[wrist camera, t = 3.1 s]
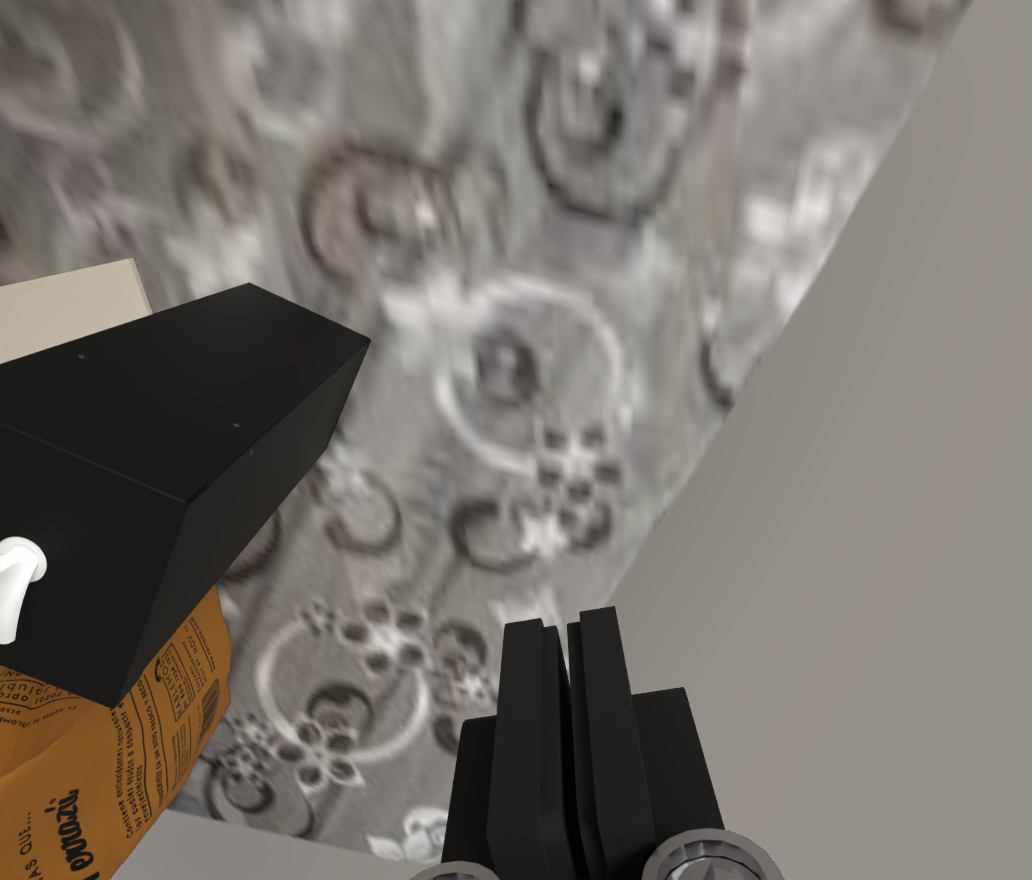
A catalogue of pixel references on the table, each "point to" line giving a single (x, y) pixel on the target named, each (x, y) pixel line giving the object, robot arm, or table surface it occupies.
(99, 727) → the coffee package
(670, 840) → the robot arm
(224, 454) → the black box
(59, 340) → the mat
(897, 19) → the table surface
